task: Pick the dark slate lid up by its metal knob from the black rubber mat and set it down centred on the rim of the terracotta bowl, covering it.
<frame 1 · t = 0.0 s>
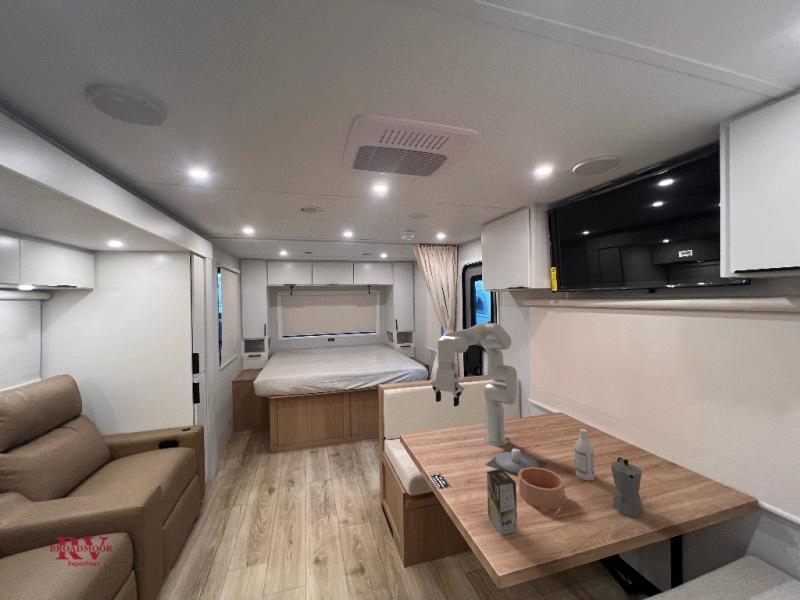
hand: (447, 403, 138), 31 cm above the table, tool pointing down, fingers open, 9 cm apart
bowl: (540, 495, 120), on the table
coffeepot: (626, 508, 112), on the table
lid: (516, 463, 144), resting on mat
mat: (516, 464, 144), on the table
coffee box: (502, 524, 104), on the table
bath foam: (584, 477, 133), on the table
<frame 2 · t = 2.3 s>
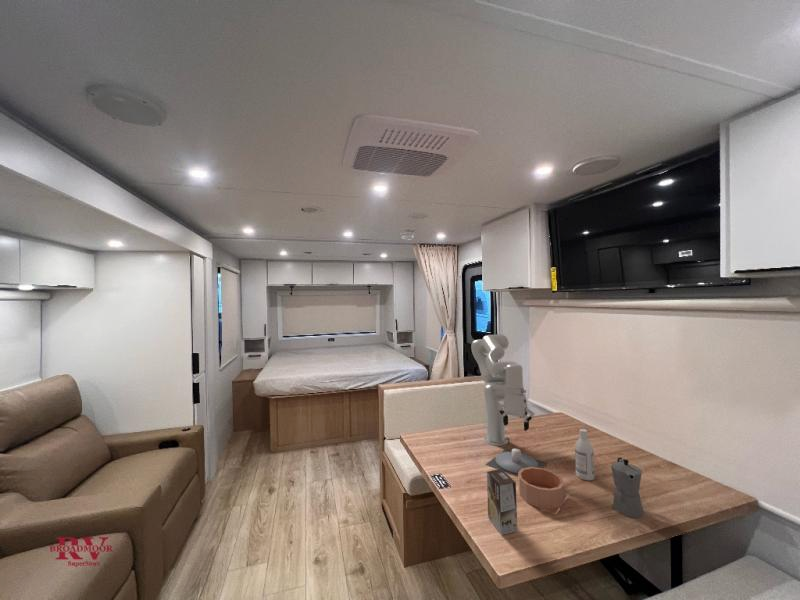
hand: (515, 427, 144), 18 cm above the table, tool pointing down, fingers open, 9 cm apart
nothing on the table moved.
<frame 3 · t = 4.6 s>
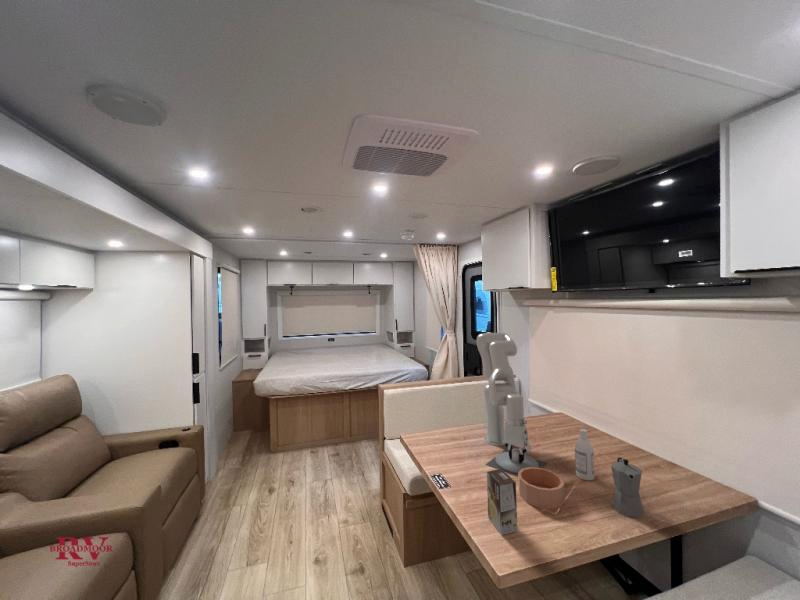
hand: (516, 459, 144), 2 cm above the table, tool pointing down, fingers closed on lid, 4 cm apart
lid: (516, 463, 144), resting on mat, touching gripper
everything else where it was.
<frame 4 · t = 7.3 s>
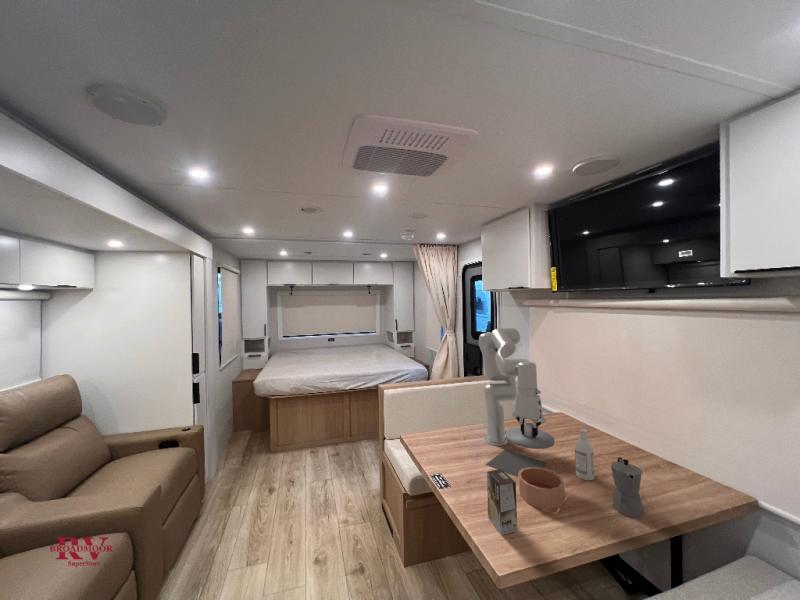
hand: (529, 434, 129), 20 cm above the table, tool pointing down, fingers closed on lid, 4 cm apart
lid: (529, 439, 129), point 18 cm above the table, touching gripper
everything else where it was.
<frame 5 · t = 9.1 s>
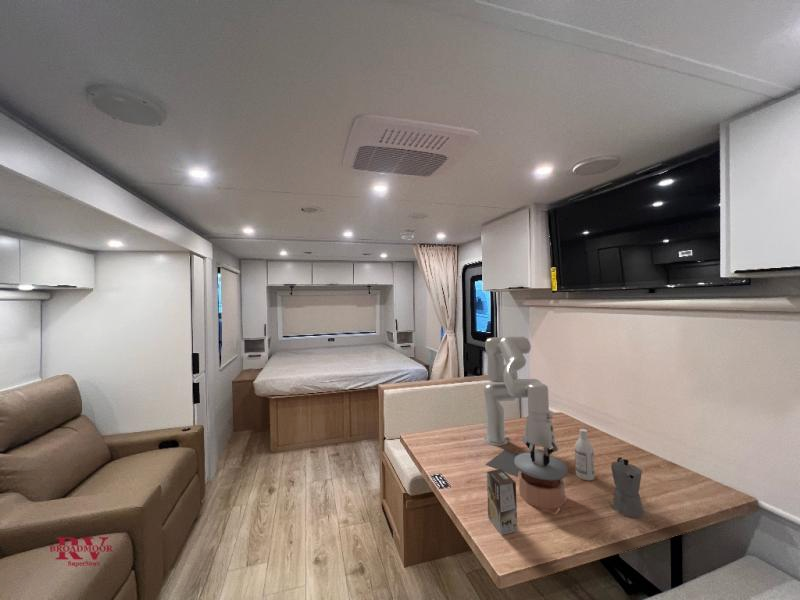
hand: (540, 462, 120), 13 cm above the table, tool pointing down, fingers closed on lid, 4 cm apart
lid: (540, 466, 120), point 11 cm above the table, touching gripper
everything else where it was.
when the fingers open (10 cm above the table, at t = 10.3 s): lid drops 2 cm, resting on bowl.
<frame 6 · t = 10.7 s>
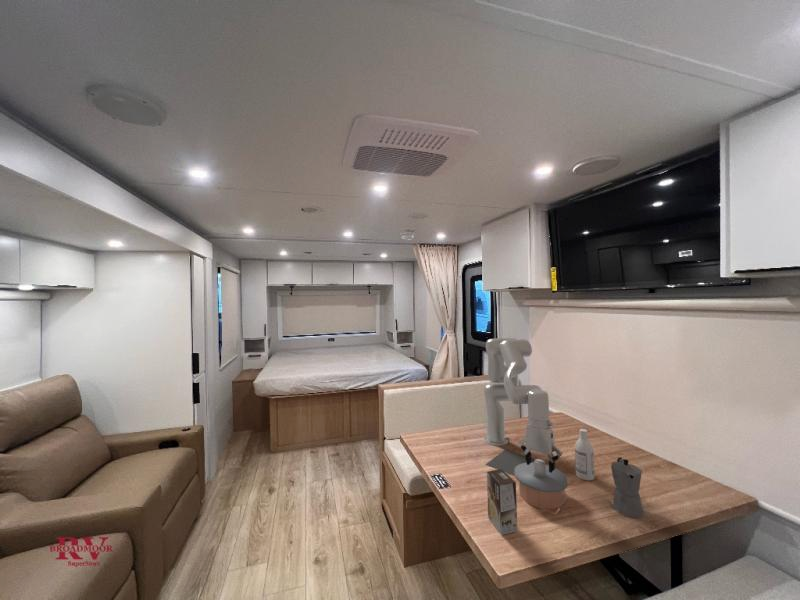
hand: (540, 467, 120), 11 cm above the table, tool pointing down, fingers open, 8 cm apart
lid: (540, 477, 120), point 7 cm above the table, touching bowl
everything else where it was.
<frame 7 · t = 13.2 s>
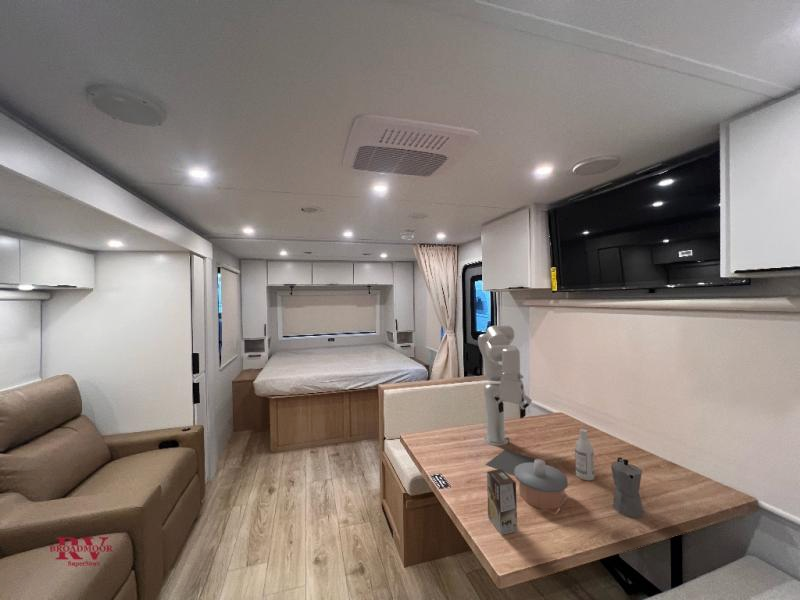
hand: (511, 414, 136), 26 cm above the table, tool pointing down, fingers open, 9 cm apart
nothing on the table moved.
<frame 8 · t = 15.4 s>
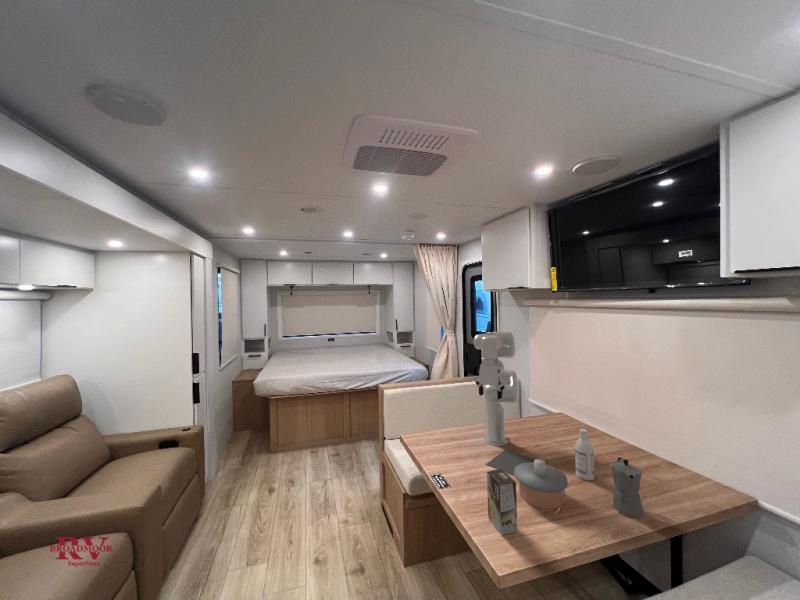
hand: (490, 396, 150), 30 cm above the table, tool pointing down, fingers open, 9 cm apart
nothing on the table moved.
at the end: lid 0.1 cm off-centre on the bowl, point 7.0 cm above the bowl's base; lid tilted 0°; the gripper is holding nothing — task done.
